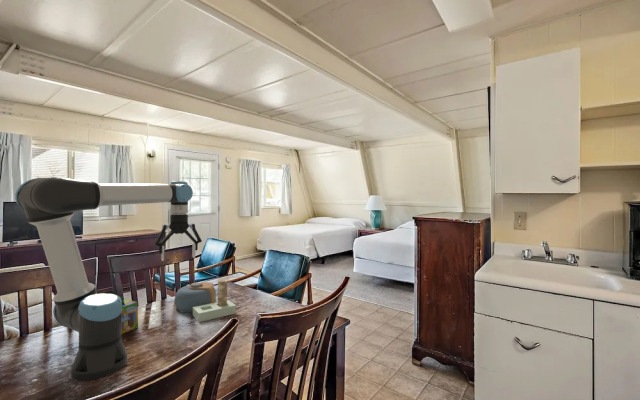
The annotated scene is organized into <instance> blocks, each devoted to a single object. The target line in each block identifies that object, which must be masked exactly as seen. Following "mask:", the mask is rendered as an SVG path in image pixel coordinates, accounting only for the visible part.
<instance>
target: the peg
mask: <svg viewBox="0 0 640 400" xmlns="http://www.w3.org/2000/svg"><path fill="white" fill-rule="evenodd" d="M217 282H218V283H217V285H218V286H217V290H218V291H217V302H218V306H219V307H222V306H226V305H227V300H228V280H226V279H220V280H217Z"/></svg>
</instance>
